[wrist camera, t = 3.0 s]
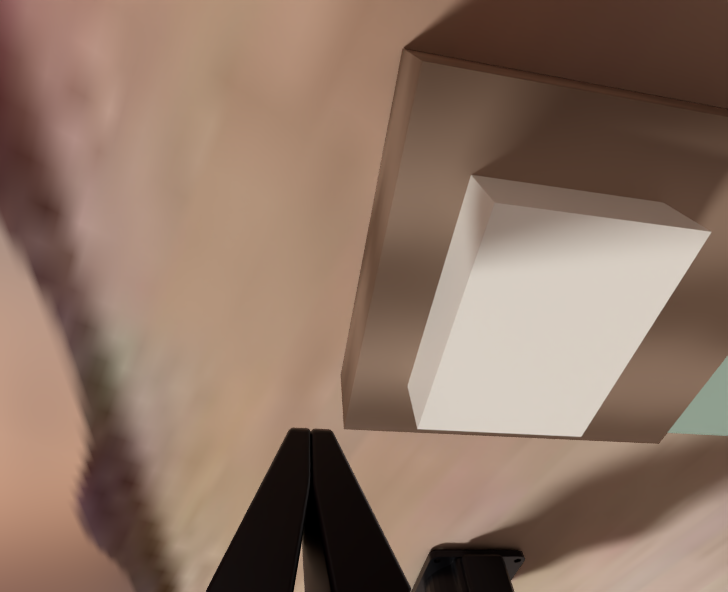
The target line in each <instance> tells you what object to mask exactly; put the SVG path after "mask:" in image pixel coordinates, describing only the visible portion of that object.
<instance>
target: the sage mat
mask: <svg viewBox="0 0 728 592" xmlns="http://www.w3.org/2000/svg"><path fill="white" fill-rule="evenodd" d="M668 433H682V434H701V435H721V436H728V356H727V357H726V358H725V360H724V361H723V362H722V364H721V365H720V366H719V367H718V369H717V370H716V371H715V372H714V374H713V375H712V376H711V378H710V379H709V380H708V381H707V383H706V384H705V385H704V387H703V388H702V389H701V390H700V392H699V393H698V394H697V395H696V397H695V398H694V399H693V401H692V402H691V403H690V404H689V406H688V407H687V408H686V410H685V411H684V412H683V413H682V415H681V416H680V417H679V418H678V420H677V421H676V422H675V424H674V425H673V426H672V427H671V429H670V430H669V431H668Z"/></svg>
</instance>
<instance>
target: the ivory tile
mask: <svg viewBox="0 0 728 592" xmlns="http://www.w3.org/2000/svg"><path fill="white" fill-rule="evenodd" d="M710 234H711V231H709V230H708V229H706V228H704V227H703V226H701V225H699V224H698V223H696V222H694V221H693V220H691V219H690V218H688V217H686V216H685V215H683V214H681V213H680V212H678V211H676V210H675V209H673V208H671V207H670V206H668V205H666V204H665V203H663V202H656V201H650V200H643V199H636V198H629V197H622V196H615V195H608V194H601V193H594V192H587V191H580V190H573V189H566V188H559V187H552V186H546V185H539V184H532V183H525V182H518V181H511V180H504V179H497V178H490V177H483V176H476V175H471V177H470V180H469V183H468V187H467V190H466V193H465V197H464V200H463V203H462V207H461V210H460V213H459V217H458V220H457V223H456V226H455V230H454V233H453V236H452V240H451V243H450V246H449V250H448V253H447V256H446V260H445V263H444V266H443V270H442V273H441V276H440V280H439V283H438V286H437V290H436V293H435V296H434V300H433V303H432V306H431V310H430V313H429V316H428V320H427V323H426V326H425V330H424V333H423V336H422V339H421V343H420V346H419V349H418V353H417V356H416V359H415V363H414V366H413V369H412V373H411V376H410V379H409V383H408V390H409V395H410V399H411V403H412V408H413V412H414V416H415V421H416V425H417V429H425V430H446V431H467V432H488V433H510V434H531V435H552V436H573V437H581V436H582V435H583V433H584V432H585V430H586V429H587V427H588V425H589V424H590V422H591V421H592V419H593V418H594V416H595V414H596V413H597V411H598V410H599V408H600V407H601V405H602V403H603V402H604V400H605V399H606V397H607V396H608V394H609V392H610V391H611V389H612V388H613V386H614V385H615V383H616V381H617V380H618V378H619V377H620V375H621V374H622V372H623V370H624V369H625V367H626V366H627V364H628V363H629V361H630V359H631V358H632V356H633V355H634V353H635V352H636V350H637V348H638V347H639V345H640V344H641V342H642V341H643V339H644V337H645V336H646V334H647V333H648V331H649V330H650V328H651V326H652V325H653V323H654V322H655V320H656V319H657V317H658V315H659V314H660V312H661V311H662V309H663V308H664V306H665V304H666V303H667V301H668V300H669V298H670V297H671V295H672V293H673V292H674V290H675V289H676V287H677V286H678V284H679V282H680V281H681V279H682V278H683V276H684V275H685V273H686V271H687V270H688V268H689V267H690V265H691V264H692V262H693V260H694V259H695V257H696V256H697V254H698V253H699V251H700V249H701V248H702V246H703V245H704V243H705V242H706V240H707V238H708V237H709V235H710Z"/></svg>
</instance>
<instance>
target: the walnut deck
mask: <svg viewBox="0 0 728 592" xmlns="http://www.w3.org/2000/svg"><path fill="white" fill-rule="evenodd" d="M471 175H476V176H483V177H490V178H497V179H504V180H511V181H518V182H525V183H532V184H539V185H546V186H552V187H559V188H566V189H573V190H580V191H587V192H594V193H601V194H608V195H615V196H622V197H629V198H636V199H643V200H650V201H656V202H663V203H665V204H666V205H668V206H670V207H671V208H673V209H675V210H676V211H678V212H680V213H681V214H683V215H685V216H686V217H688V218H690V219H691V220H693V221H694V222H696V223H698V224H699V225H701V226H703V227H704V228H706V229H708V230H709V231H711V234H710V235H709V237H708V238H707V240H706V242H705V243H704V245H703V246H702V248H701V249H700V251H699V253H698V254H697V256H696V257H695V259H694V260H693V262H692V264H691V265H690V267H689V268H688V270H687V271H686V273H685V275H684V276H683V278H682V279H681V281H680V282H679V284H678V286H677V287H676V289H675V290H674V292H673V293H672V295H671V297H670V298H669V300H668V301H667V303H666V304H665V306H664V308H663V309H662V311H661V312H660V314H659V315H658V317H657V319H656V320H655V322H654V323H653V325H652V326H651V328H650V330H649V331H648V333H647V334H646V336H645V337H644V339H643V341H642V342H641V344H640V345H639V347H638V348H637V350H636V352H635V353H634V355H633V356H632V358H631V359H630V361H629V363H628V364H627V366H626V367H625V369H624V370H623V372H622V374H621V375H620V377H619V378H618V380H617V381H616V383H615V385H614V386H613V388H612V389H611V391H610V392H609V394H608V396H607V397H606V399H605V400H604V402H603V403H602V405H601V407H600V408H599V410H598V411H597V413H596V414H595V416H594V418H593V419H592V421H591V422H590V424H589V425H588V427H587V429H586V430H585V432H584V433H583V435H582V436H581V437H573V436H552V435H531V434H510V433H488V432H467V431H446V430H425V429H417V425H416V421H415V416H414V412H413V408H412V403H411V399H410V395H409V390H408V383H409V379H410V376H411V373H412V369H413V366H414V363H415V359H416V356H417V353H418V349H419V346H420V343H421V339H422V336H423V333H424V330H425V326H426V323H427V320H428V316H429V313H430V310H431V306H432V303H433V300H434V296H435V293H436V290H437V286H438V283H439V280H440V276H441V273H442V270H443V266H444V263H445V260H446V256H447V253H448V250H449V246H450V243H451V240H452V236H453V233H454V230H455V226H456V223H457V220H458V217H459V213H460V210H461V207H462V203H463V200H464V197H465V193H466V190H467V187H468V183H469V180H470V177H471ZM727 356H728V109H724V108H719V107H713V106H708V105H703V104H697V103H692V102H687V101H681V100H676V99H671V98H665V97H660V96H655V95H649V94H644V93H638V92H633V91H628V90H622V89H617V88H612V87H606V86H601V85H596V84H590V83H585V82H580V81H574V80H569V79H564V78H558V77H553V76H548V75H542V74H537V73H532V72H526V71H521V70H515V69H510V68H505V67H499V66H494V65H489V64H483V63H478V62H473V61H467V60H462V59H457V58H451V57H446V56H441V55H435V54H430V53H425V52H419V51H414V50H409V49H402V55H401V60H400V65H399V71H398V76H397V81H396V86H395V92H394V97H393V102H392V108H391V113H390V118H389V123H388V129H387V134H386V139H385V145H384V150H383V155H382V160H381V166H380V171H379V176H378V182H377V187H376V192H375V197H374V203H373V208H372V213H371V218H370V224H369V229H368V234H367V240H366V245H365V250H364V255H363V261H362V266H361V271H360V277H359V282H358V287H357V292H356V298H355V303H354V308H353V314H352V319H351V324H350V329H349V335H348V340H347V345H346V351H345V356H344V361H343V366H342V372H341V388H342V404H343V421H344V429H352V430H373V431H395V432H417V433H439V434H460V435H482V436H504V437H525V438H547V439H569V440H591V441H612V442H634V443H656V444H659V443H660V441H661V440H662V439H663V438H664V436H665V435H666V434H667V433H668V431H669V430H670V429H671V427H672V426H673V425H674V424H675V422H676V421H677V420H678V418H679V417H680V416H681V415H682V413H683V412H684V411H685V410H686V408H687V407H688V406H689V404H690V403H691V402H692V401H693V399H694V398H695V397H696V395H697V394H698V393H699V392H700V390H701V389H702V388H703V387H704V385H705V384H706V383H707V381H708V380H709V379H710V378H711V376H712V375H713V374H714V372H715V371H716V370H717V369H718V367H719V366H720V365H721V364H722V362H723V361H724V360H725V358H726V357H727Z"/></svg>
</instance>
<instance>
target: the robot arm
mask: <svg viewBox="0 0 728 592" xmlns="http://www.w3.org/2000/svg"><path fill="white" fill-rule="evenodd" d="M301 544H302V549H303V569H304V585H305V592H410V591H411V587H410V585H409V583H408V581H407V579H406V577H405V575H404V573H403V571H402V569H401V567H400V565H399V563H398V561H397V559H396V557H395V555H394V553H393V551H392V549H391V547H390V545H389V543H388V541H387V539H386V537H385V535H384V533H383V531H382V529H381V527H380V525H379V523H378V521H377V519H376V517H375V515H374V513H373V511H372V509H371V507H370V505H369V503H368V501H367V499H366V497H365V495H364V493H363V491H362V489H361V487H360V485H359V483H358V481H357V479H356V477H355V475H354V473H353V471H352V469H351V467H350V465H349V463H348V461H347V459H346V457H345V455H344V453H343V451H342V449H341V447H340V445H339V443H338V441H337V439H336V437H335V435H334V433H333V432H332V431H331V430H329V429H313V430H312V431H310V430H309V429H308V428H291V429H290V430H289V431H288V433H287V435H286V437H285V439H284V441H283V443H282V444H281V446H280V448H279V450H278V452H277V454H276V456H275V458H274V460H273V462H272V464H271V466H270V468H269V470H268V472H267V473H266V475H265V477H264V479H263V481H262V483H261V485H260V487H259V489H258V491H257V493H256V495H255V497H254V499H253V501H252V503H251V504H250V506H249V508H248V510H247V512H246V514H245V516H244V518H243V520H242V522H241V524H240V526H239V528H238V530H237V532H236V534H235V535H234V537H233V539H232V541H231V543H230V545H229V547H228V549H227V551H226V553H225V555H224V557H223V559H222V561H221V563H220V565H219V566H218V568H217V570H216V572H215V574H214V576H213V578H212V580H211V582H210V584H209V586H208V588H207V590H206V592H293V591H294V585H295V580H296V574H297V568H298V562H299V556H300V550H301ZM524 561H525V558H524V555H523V553H522V551H518V550H436V551H432V552H430V553H429V554H428V557H427V559H426V561H425V563H424V565H423V567H422V570H421V572H420V574H419V576H418V578H417V580H416V583H415V585H414V587H413V589H412V591H411V592H514V589H513V586H512V583H511V580H512V578H513V577H514V575H515V574H516V572H517V571H518V569H519V568H520V566H521V565H522V564H523V562H524Z"/></svg>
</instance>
